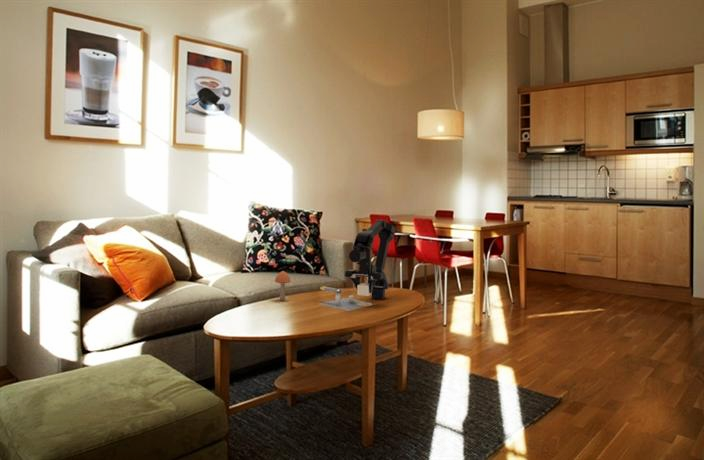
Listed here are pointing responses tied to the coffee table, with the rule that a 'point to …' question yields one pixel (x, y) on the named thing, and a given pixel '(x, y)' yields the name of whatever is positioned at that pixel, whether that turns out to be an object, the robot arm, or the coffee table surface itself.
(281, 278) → the mushroom
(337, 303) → the board
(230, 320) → the coffee table surface
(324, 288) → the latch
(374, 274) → the robot arm
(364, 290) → the beige cube
